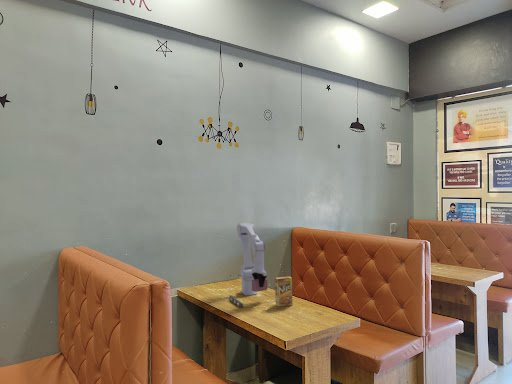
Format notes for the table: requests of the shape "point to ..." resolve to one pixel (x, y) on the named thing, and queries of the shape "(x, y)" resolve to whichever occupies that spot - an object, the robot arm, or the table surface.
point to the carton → (256, 285)
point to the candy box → (283, 291)
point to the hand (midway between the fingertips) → (259, 286)
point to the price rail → (236, 301)
